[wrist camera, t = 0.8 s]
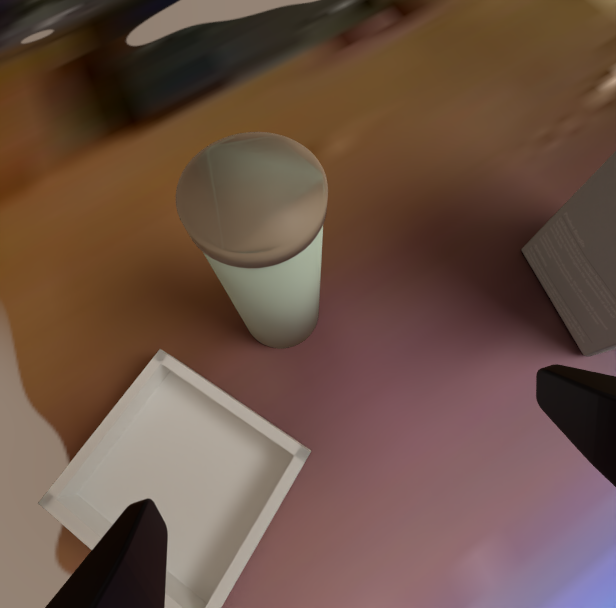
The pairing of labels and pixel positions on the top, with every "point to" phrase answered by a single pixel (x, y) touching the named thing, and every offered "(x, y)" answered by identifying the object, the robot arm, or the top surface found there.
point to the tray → (182, 477)
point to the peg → (260, 229)
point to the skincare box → (582, 261)
